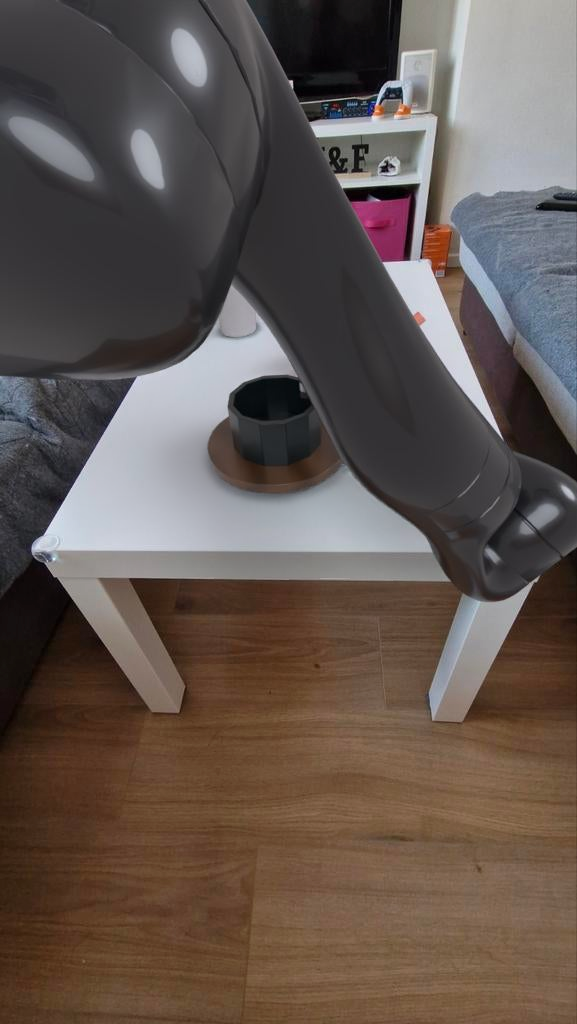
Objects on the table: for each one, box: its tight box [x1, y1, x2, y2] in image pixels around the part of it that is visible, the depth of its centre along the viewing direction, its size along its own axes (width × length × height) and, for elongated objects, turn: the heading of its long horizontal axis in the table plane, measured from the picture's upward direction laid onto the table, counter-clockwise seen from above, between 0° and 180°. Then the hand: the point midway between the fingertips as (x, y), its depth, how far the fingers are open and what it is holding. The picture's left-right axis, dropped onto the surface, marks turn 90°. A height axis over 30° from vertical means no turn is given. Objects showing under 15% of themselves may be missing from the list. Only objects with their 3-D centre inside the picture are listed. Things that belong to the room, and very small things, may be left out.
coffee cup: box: [218, 285, 257, 338], centre depth 87 cm, size 10×10×15 cm
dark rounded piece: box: [207, 374, 344, 494], centre depth 59 cm, size 18×18×15 cm
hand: (322, 340), depth 58 cm, fingers closed
